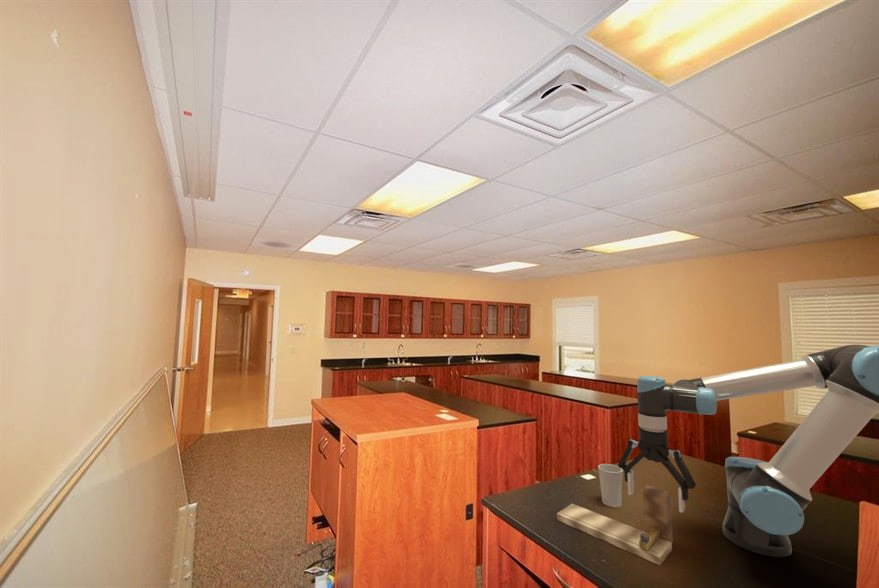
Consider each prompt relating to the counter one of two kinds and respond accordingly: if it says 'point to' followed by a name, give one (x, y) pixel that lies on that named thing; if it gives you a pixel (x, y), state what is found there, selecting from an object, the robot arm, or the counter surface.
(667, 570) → the counter surface
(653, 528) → the gauge
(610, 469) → the cup
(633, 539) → the board
